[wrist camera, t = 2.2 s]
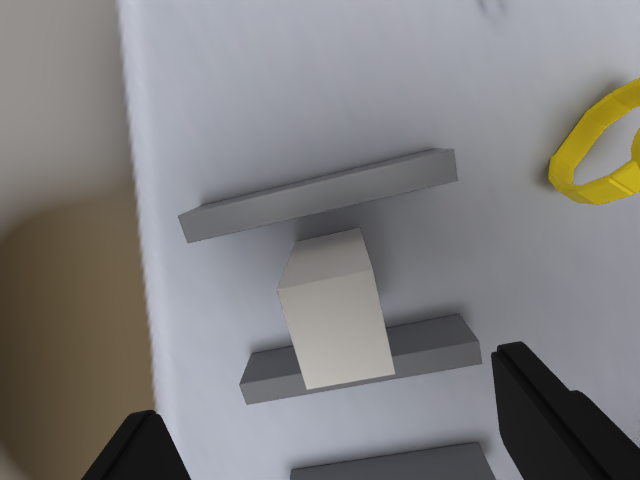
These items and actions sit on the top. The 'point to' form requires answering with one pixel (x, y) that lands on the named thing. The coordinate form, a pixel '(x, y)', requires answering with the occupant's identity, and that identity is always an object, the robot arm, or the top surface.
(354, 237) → the off-white rectangular prism
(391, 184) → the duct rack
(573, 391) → the robot arm
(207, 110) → the top surface
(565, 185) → the watch
